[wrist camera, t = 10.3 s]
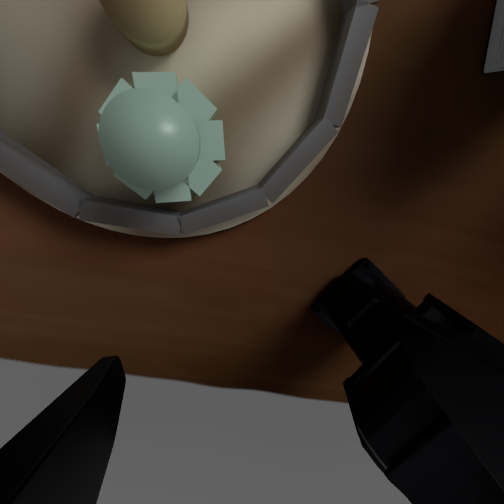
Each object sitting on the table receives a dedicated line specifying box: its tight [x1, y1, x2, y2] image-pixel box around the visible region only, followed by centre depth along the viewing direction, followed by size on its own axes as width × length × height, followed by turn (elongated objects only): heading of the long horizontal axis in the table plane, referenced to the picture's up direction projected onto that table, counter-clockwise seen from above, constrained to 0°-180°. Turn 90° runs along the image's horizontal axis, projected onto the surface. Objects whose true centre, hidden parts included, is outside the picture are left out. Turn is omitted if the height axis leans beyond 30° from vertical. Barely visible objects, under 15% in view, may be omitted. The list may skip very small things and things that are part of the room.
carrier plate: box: [0, 0, 380, 238], centre depth 12 cm, size 24×24×4 cm
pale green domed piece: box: [96, 72, 225, 203], centre depth 13 cm, size 6×6×6 cm
